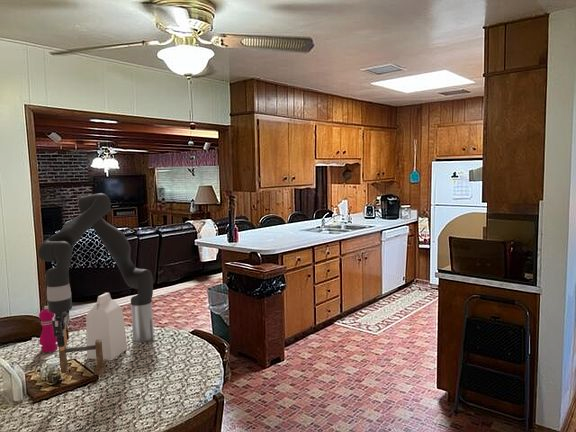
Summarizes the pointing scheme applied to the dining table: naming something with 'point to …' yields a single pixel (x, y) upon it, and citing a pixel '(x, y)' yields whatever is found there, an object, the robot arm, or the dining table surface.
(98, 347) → the hook frame
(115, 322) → the milk
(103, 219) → the robot arm
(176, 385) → the dining table surface
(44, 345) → the pepper mill
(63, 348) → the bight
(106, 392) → the dining table surface
